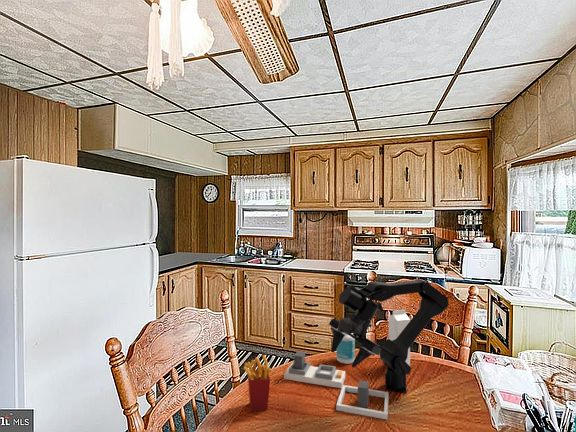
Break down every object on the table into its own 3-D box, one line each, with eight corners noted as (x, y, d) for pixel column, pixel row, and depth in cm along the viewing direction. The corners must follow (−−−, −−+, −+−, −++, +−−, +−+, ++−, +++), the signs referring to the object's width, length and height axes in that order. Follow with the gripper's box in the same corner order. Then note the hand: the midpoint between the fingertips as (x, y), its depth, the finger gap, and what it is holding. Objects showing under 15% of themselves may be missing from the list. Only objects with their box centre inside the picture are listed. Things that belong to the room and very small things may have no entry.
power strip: (345, 376, 122) (345, 367, 122) (341, 388, 113) (341, 378, 113) (291, 368, 129) (291, 359, 129) (284, 378, 120) (284, 369, 120)
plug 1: (305, 367, 125) (305, 352, 125) (301, 373, 120) (301, 356, 120) (297, 366, 125) (297, 350, 126) (294, 371, 121) (294, 355, 121)
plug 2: (368, 400, 106) (368, 381, 106) (367, 408, 102) (367, 388, 102) (359, 398, 107) (359, 380, 107) (357, 406, 103) (357, 387, 103)
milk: (410, 367, 130) (410, 311, 130) (396, 369, 128) (397, 312, 128) (400, 360, 136) (401, 307, 136) (388, 362, 134) (388, 308, 134)
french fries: (270, 411, 99) (271, 361, 100) (243, 414, 98) (243, 364, 98) (266, 396, 108) (266, 350, 108) (241, 399, 106) (241, 352, 106)
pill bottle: (356, 364, 132) (356, 331, 132) (337, 364, 132) (338, 330, 132) (353, 357, 139) (353, 325, 140) (335, 356, 140) (335, 324, 140)
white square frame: (388, 396, 108) (388, 392, 108) (387, 419, 96) (387, 414, 96) (342, 389, 113) (342, 384, 113) (336, 410, 100) (336, 405, 100)
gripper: (331, 298, 113) (309, 339, 110) (375, 322, 99) (351, 371, 96) (347, 307, 120) (327, 347, 117) (391, 332, 106) (368, 377, 103)
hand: (342, 359), depth 108 cm, fingers open, 9 cm apart
